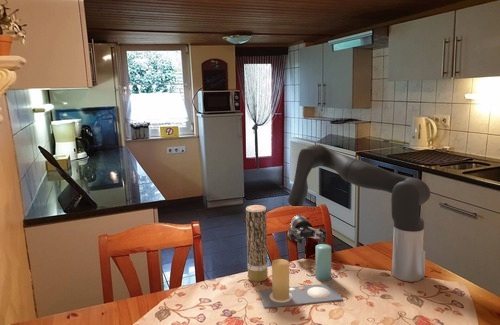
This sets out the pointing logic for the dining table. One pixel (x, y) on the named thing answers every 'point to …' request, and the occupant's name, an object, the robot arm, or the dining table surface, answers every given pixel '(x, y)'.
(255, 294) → the dining table surface
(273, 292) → the amber tube
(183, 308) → the dining table surface
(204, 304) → the dining table surface
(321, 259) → the teal tube
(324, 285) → the card
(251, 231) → the wooden log
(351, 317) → the dining table surface
